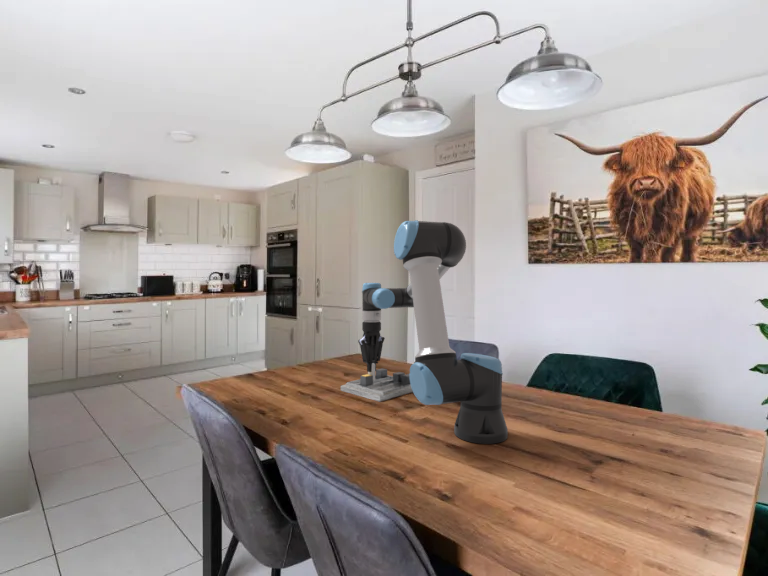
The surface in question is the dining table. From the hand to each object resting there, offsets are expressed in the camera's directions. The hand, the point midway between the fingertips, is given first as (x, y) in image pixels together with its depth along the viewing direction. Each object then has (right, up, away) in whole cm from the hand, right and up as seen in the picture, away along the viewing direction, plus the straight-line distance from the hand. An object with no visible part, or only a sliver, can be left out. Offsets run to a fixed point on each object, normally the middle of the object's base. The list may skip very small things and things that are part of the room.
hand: (371, 379), depth 174 cm
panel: (+5, -4, +1) cm, 6 cm away
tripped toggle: (-2, -2, -2) cm, 3 cm away
